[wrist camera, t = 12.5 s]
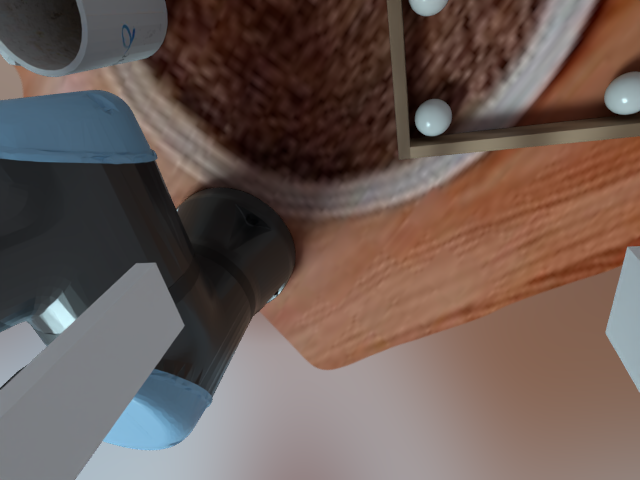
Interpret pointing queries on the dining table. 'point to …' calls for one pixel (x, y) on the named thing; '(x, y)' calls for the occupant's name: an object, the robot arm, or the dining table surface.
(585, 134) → the parts frame
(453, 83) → the dining table surface
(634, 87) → the pebble
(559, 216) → the dining table surface
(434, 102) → the pale glossy ball
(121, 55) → the mug
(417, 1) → the pebble
